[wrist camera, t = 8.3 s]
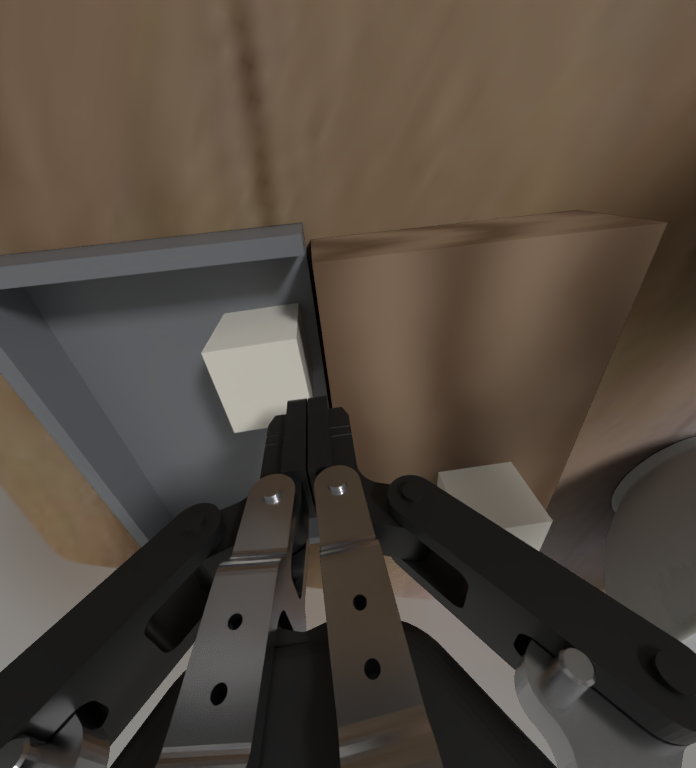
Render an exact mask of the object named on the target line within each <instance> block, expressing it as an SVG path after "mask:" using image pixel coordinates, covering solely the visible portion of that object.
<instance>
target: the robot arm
mask: <svg viewBox="0 0 696 768" xmlns="http://www.w3.org/2000/svg"><path fill="white" fill-rule="evenodd" d="M265 445H266V446H265V449H264V456H263V462H262V468H261V475H260V480H258V481H257V482H256V483H255V484H254V485H253V486H252V488H251V489H250V491H249V494H248V497H246V498H245V499H243V500H242V501H240V502H238V503H236V504H233V505H231V506H228V507H226V508H224V509H221V510H219V509H218V507H216V506H215V505H213V504H211V503H199V504H195V505H193V506H191V507H189V508H187V509H185V510H184V511H182V512H181V513H180V514H179V515H178V516H176V517H175V518H174V519H173V520H172V521H171V522H170V523H169V524H167V525H166V526H165V527H164V528H163V529H162V530H161V531H160V532H158V533H157V534H156V535H155V536H154V537H153V538H152V539H150V540H149V541H148V542H147V543H146V544H145V545H144V546H143V547H141V548H140V549H139V550H138V551H137V552H136V553H135V554H134V555H132V556H131V557H130V558H129V559H128V560H127V561H126V562H124V563H123V564H122V565H121V566H120V567H119V568H118V569H117V570H115V571H114V572H113V573H112V574H111V575H110V576H109V577H108V578H107V579H105V580H104V581H103V582H102V583H101V584H100V585H98V586H97V587H96V588H95V589H94V590H93V591H92V592H91V593H89V594H88V595H87V596H86V597H85V598H84V599H83V600H82V601H80V602H79V603H78V604H77V605H76V606H75V607H74V608H73V609H71V610H70V611H69V612H68V613H67V614H66V615H65V616H63V617H62V618H61V619H60V620H59V621H58V622H57V623H56V624H55V625H53V626H52V627H51V628H50V629H49V630H48V631H47V632H45V633H44V634H43V635H42V636H41V637H40V638H39V639H38V640H36V641H35V642H34V643H33V644H32V645H31V646H30V647H28V648H27V649H26V650H25V651H24V652H23V653H22V654H21V655H19V656H18V657H17V658H16V659H15V660H14V661H13V662H12V663H10V664H9V665H8V666H7V667H6V668H5V669H4V670H2V671H1V672H0V768H107V763H108V759H109V752H110V746H111V744H112V743H113V742H114V741H115V740H116V738H117V737H118V736H119V734H120V733H121V732H122V731H123V729H124V728H125V727H126V726H127V725H128V723H129V722H130V721H131V719H133V717H134V716H135V715H136V714H137V712H138V711H139V710H140V709H141V707H142V706H143V705H144V703H145V702H146V701H147V700H148V699H149V698H150V696H151V695H152V694H153V693H154V691H155V690H156V689H157V688H158V686H159V685H160V684H161V683H162V682H163V680H164V679H165V678H166V677H167V675H168V674H169V673H170V672H171V670H172V669H173V668H174V667H175V665H176V664H177V663H178V662H179V661H180V659H181V658H182V657H183V656H184V654H185V653H186V652H187V651H188V649H189V648H190V647H191V646H192V645H193V643H194V642H195V643H194V647H193V650H192V653H191V657H190V660H189V663H188V666H187V670H185V671H184V672H183V673H182V675H181V676H180V677H179V678H178V679H177V680H176V681H175V682H174V684H173V685H172V686H171V687H170V688H169V690H168V691H167V692H166V694H165V695H164V696H163V698H162V699H161V700H160V702H159V703H158V704H157V706H156V707H155V708H154V710H153V711H152V712H151V714H150V715H149V716H148V718H147V719H146V720H145V722H144V723H143V724H142V726H141V727H140V728H139V730H138V731H137V732H136V734H135V735H134V736H133V737H132V739H131V740H130V741H129V743H128V744H127V745H126V747H125V748H124V749H123V751H122V752H121V753H120V755H119V756H118V757H117V759H116V760H115V761H114V763H113V764H112V765H111V767H110V768H557V767H556V766H555V765H554V764H553V763H552V762H551V761H550V760H549V759H548V758H547V757H546V756H545V755H544V754H543V753H542V751H541V750H540V749H538V747H537V746H536V745H535V744H534V743H533V742H532V741H531V740H530V739H529V738H528V737H527V736H526V735H525V734H524V732H522V730H520V728H519V727H518V726H517V725H516V724H515V723H514V722H513V721H512V720H511V719H510V718H509V717H508V716H507V715H506V714H505V713H504V712H503V710H502V709H501V708H500V707H499V706H498V705H497V704H496V703H495V702H494V701H493V700H492V699H491V698H490V697H489V696H488V695H487V693H486V692H485V691H484V690H483V689H482V688H481V687H480V686H479V685H478V684H477V683H476V682H475V681H474V680H473V679H472V678H471V677H470V676H469V675H468V673H467V672H466V671H464V669H463V668H462V667H461V666H460V665H459V664H458V663H457V662H456V661H455V660H454V659H453V658H452V657H451V656H450V655H449V653H447V652H446V650H445V649H444V648H443V647H442V646H441V645H440V644H439V643H438V642H437V641H436V640H434V639H433V638H432V637H431V636H429V635H428V634H427V633H425V632H424V631H422V630H421V629H419V628H417V627H415V626H413V625H411V624H409V623H407V622H403V621H401V619H400V615H399V612H398V608H397V605H396V601H395V597H394V593H393V590H392V586H391V582H390V579H389V575H388V571H387V568H386V564H385V560H384V557H383V555H386V556H391V557H392V559H393V560H394V561H395V562H396V564H398V565H399V566H400V567H401V568H402V569H403V570H404V571H405V572H406V573H408V574H409V575H410V576H411V577H412V578H413V579H414V580H415V581H416V582H418V583H419V584H420V585H421V586H422V587H423V588H424V589H425V590H427V591H428V592H429V593H430V594H431V595H432V596H433V597H434V598H435V599H437V600H438V601H439V602H440V603H441V604H442V605H443V606H444V607H446V608H447V609H448V610H449V611H450V612H451V613H452V614H453V615H455V616H456V617H457V618H458V619H459V620H460V621H461V622H462V623H463V624H465V625H466V626H467V627H468V628H469V629H470V630H471V631H472V632H473V633H474V634H476V635H477V636H478V637H479V638H480V639H481V640H482V641H483V642H485V643H486V644H487V645H488V646H489V647H490V648H491V649H492V650H493V651H495V652H496V653H497V654H498V655H499V656H500V657H501V658H502V659H503V660H505V661H506V662H507V663H508V664H509V665H510V666H511V667H512V668H514V669H515V676H514V683H515V690H516V693H517V697H518V699H519V702H520V704H521V706H522V708H523V710H524V712H525V713H526V715H527V716H528V718H529V719H530V720H531V721H532V723H533V724H534V725H535V726H536V727H537V729H538V730H539V731H540V732H541V733H542V735H543V736H544V738H545V739H546V741H547V743H548V744H549V746H550V748H551V750H552V752H553V755H554V757H555V759H556V762H557V766H558V768H681V766H682V758H683V753H684V750H685V748H686V747H687V746H688V745H690V744H693V743H695V742H696V653H695V652H693V651H692V650H691V649H690V648H689V647H687V646H686V645H685V644H683V643H682V642H680V641H679V640H677V639H676V638H674V637H672V636H671V635H669V634H668V633H666V632H665V631H663V630H662V629H660V628H658V627H657V626H655V625H654V624H652V623H651V622H649V621H647V620H646V619H644V618H643V617H641V616H640V615H638V614H636V613H635V612H633V611H632V610H630V609H629V608H627V607H626V606H624V605H622V604H621V603H619V602H618V601H616V600H615V599H613V598H611V597H610V596H608V595H607V594H605V593H604V592H602V591H600V590H599V589H597V588H596V587H594V586H593V585H591V584H590V583H588V582H586V581H585V580H583V579H582V578H580V577H579V576H577V575H575V574H574V573H572V572H571V571H569V570H568V569H566V568H564V567H563V566H561V565H560V564H558V563H557V562H555V561H554V560H552V559H550V558H549V557H547V556H546V555H544V554H543V553H541V552H539V551H538V550H536V549H535V548H533V547H532V546H530V545H528V544H527V543H525V542H524V541H522V540H521V539H519V538H518V537H516V536H514V535H513V534H511V533H510V532H508V531H507V530H505V529H503V528H502V527H500V526H499V525H497V524H496V523H494V522H492V521H491V520H489V519H488V518H486V517H485V516H483V515H482V514H480V513H478V512H477V511H475V510H474V509H472V508H471V507H469V506H467V505H466V504H464V503H463V502H461V501H460V500H458V499H456V498H455V497H453V496H452V495H450V494H449V493H447V492H446V491H444V490H442V489H441V488H439V487H438V486H436V485H435V484H433V483H431V482H430V481H428V480H427V479H425V478H423V477H420V476H416V475H404V476H401V477H398V478H397V479H395V480H394V481H393V482H392V483H391V484H385V483H378V482H374V481H371V480H369V479H367V478H366V477H364V476H363V475H362V474H361V472H360V471H359V469H358V467H357V462H356V456H355V450H354V444H353V438H352V432H351V426H350V420H349V414H348V413H347V412H346V411H345V410H344V409H343V408H342V407H336V408H329V406H328V400H327V396H320V397H312V398H308V400H307V398H305V399H297V400H289V401H287V410H286V414H284V415H276V416H275V417H274V418H273V420H272V421H271V422H270V424H269V425H268V431H267V438H266V443H265ZM316 510H317V515H316ZM314 517H317V519H318V528H319V537H320V547H321V551H320V564H321V574H322V583H323V593H324V602H325V611H326V620H327V622H326V623H324V624H321V625H319V626H317V627H315V628H313V629H311V630H309V631H306V614H305V595H306V581H307V568H308V555H309V518H314Z"/></svg>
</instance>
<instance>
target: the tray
mask: <svg viewBox="0 0 696 768" xmlns="http://www.w3.org/2000/svg"><path fill="white" fill-rule="evenodd" d="M293 303H299V307H300V312H301V317H302V322H303V327H304V332H305V337H306V341H307V346H308V351H309V356H310V361H311V366H312V371H313V386H314V397H320V396H327V400H328V395H327V388H326V381H325V374H324V368H323V361H322V354H321V347H320V340H319V334H318V327H317V320H316V313H315V306H314V300H313V293H312V286H311V279H310V273H309V266H308V259H307V252H306V245H305V239H304V232H303V225H302V223H295V224H285V225H276V226H267V227H258V228H248V229H239V230H230V231H221V232H211V233H202V234H193V235H184V236H175V237H165V238H156V239H147V240H138V241H128V242H119V243H110V244H101V245H91V246H82V247H73V248H64V249H54V250H45V251H36V252H27V253H17V254H8V255H0V373H1V374H2V375H3V377H4V378H5V379H6V380H7V382H8V383H9V384H10V385H11V387H12V388H13V389H14V390H15V392H16V393H17V394H18V395H19V396H20V398H21V399H22V400H23V401H24V403H25V404H26V405H27V406H28V408H29V409H30V410H31V411H32V413H33V414H34V415H35V416H36V418H37V419H38V420H39V421H40V423H41V424H42V425H43V426H44V428H45V429H46V430H47V431H48V432H49V434H50V435H51V436H52V437H53V439H54V440H55V441H56V442H57V444H58V445H59V446H60V447H61V449H62V450H63V451H64V452H65V454H66V455H67V456H68V457H69V459H70V460H71V461H72V462H73V464H74V465H75V466H76V467H77V469H78V470H79V471H80V472H81V473H82V475H83V476H84V477H85V478H86V480H87V481H88V482H89V483H90V485H91V486H92V487H93V488H94V490H95V491H96V492H97V493H98V495H99V496H100V497H101V498H102V500H103V501H104V502H105V503H106V505H107V506H108V507H109V508H110V509H111V511H112V512H113V513H114V514H115V516H116V517H117V518H118V519H119V521H120V522H121V523H122V524H123V526H124V527H125V528H126V529H127V531H128V532H129V533H130V534H131V536H132V537H133V538H134V539H135V541H136V542H137V543H138V544H139V545H140V547H143V546H144V545H145V544H146V543H147V542H148V541H149V540H150V539H152V538H153V537H154V536H155V535H156V534H157V533H158V532H160V531H161V530H162V529H163V528H164V527H165V526H166V525H167V524H169V523H170V522H171V521H172V520H173V519H174V518H175V517H176V516H178V515H179V514H180V513H181V512H182V511H184V510H185V509H187V508H189V507H191V506H193V505H195V504H199V503H211V504H213V505H215V506H216V507H218V509H219V510H221V509H224V508H226V507H228V506H231V505H233V504H236V503H238V502H240V501H242V500H243V499H245V498H246V497H248V494H249V491H250V489H251V488H252V486H253V485H254V484H255V483H256V482H257V481H258V480H260V475H261V468H262V462H263V456H264V449H265V446H266V445H265V443H266V438H267V431H268V428H263V429H256V430H250V431H244V432H237V433H234V431H233V428H232V426H231V424H230V421H229V419H228V416H227V414H226V412H225V409H224V407H223V404H222V402H221V400H220V397H219V395H218V392H217V390H216V388H215V385H214V383H213V380H212V378H211V376H210V373H209V371H208V368H207V366H206V364H205V361H204V359H203V357H202V354H201V352H202V351H203V349H204V347H205V345H206V344H207V342H208V340H209V339H210V337H211V335H212V333H213V332H214V330H215V328H216V327H217V325H218V323H219V321H220V320H221V318H222V316H223V315H224V314H225V313H232V312H239V311H246V310H252V309H259V308H266V307H273V306H279V305H286V304H293ZM328 406H329V401H328ZM316 515H317V510H316ZM316 543H320V537H319V528H318V519H317V517H314V518H309V545H310V544H316Z"/></svg>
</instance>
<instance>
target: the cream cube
mask: <svg viewBox="0 0 696 768" xmlns="http://www.w3.org/2000/svg"><path fill="white" fill-rule="evenodd" d="M201 354H202V357H203V359H204V361H205V364H206V366H207V368H208V371H209V373H210V376H211V378H212V380H213V383H214V385H215V388H216V390H217V392H218V395H219V397H220V400H221V402H222V404H223V407H224V409H225V412H226V414H227V416H228V419H229V421H230V424H231V426H232V428H233V431H234V433H237V432H244V431H250V430H256V429H263V428H268V425H269V424H270V422H271V421H272V420H273V418H274V417H275V416H276V415H284V414H286V410H287V401H289V400H297V399H305V398H307V400H308V398H312V397H314V386H313V371H312V366H311V361H310V356H309V351H308V346H307V341H306V337H305V332H304V327H303V322H302V317H301V312H300V307H299V303H293V304H286V305H279V306H273V307H266V308H259V309H252V310H246V311H239V312H232V313H225V314H224V315H223V316H222V318H221V320H220V321H219V323H218V325H217V327H216V328H215V330H214V332H213V333H212V335H211V337H210V339H209V340H208V342H207V344H206V345H205V347H204V349H203V351H202V352H201Z"/></svg>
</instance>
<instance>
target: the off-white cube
mask: <svg viewBox="0 0 696 768" xmlns="http://www.w3.org/2000/svg"><path fill="white" fill-rule="evenodd" d="M437 486H438V487H439V488H441V489H442V490H444V491H446V492H447V493H449V494H450V495H452V496H453V497H455V498H456V499H458V500H460V501H461V502H463V503H464V504H466V505H467V506H469V507H471V508H472V509H474V510H475V511H477V512H478V513H480V514H482V515H483V516H485V517H486V518H488V519H489V520H491V521H492V522H494V523H496V524H497V525H499V526H500V527H502V528H503V529H505V530H507V531H508V532H510V533H511V534H513V535H514V536H516V537H518V538H519V539H521V540H522V541H524V542H525V543H527V544H528V545H530V546H532V547H533V548H535V549H536V550H538V551H540V548H541V546H542V544H543V542H544V540H545V537H546V535H547V533H548V531H549V529H550V526H551V524H552V522H553V520H552V519H551V517H550V516H549V515H548V513H547V512H546V510H545V509H544V508H543V506H542V505H541V503H540V502H539V500H538V499H537V498H536V496H535V495H534V493H533V492H532V491H531V489H530V488H529V486H528V485H527V484H526V482H525V481H524V479H523V478H522V476H521V475H520V474H519V472H518V471H517V469H516V468H515V467H514V465H513V464H512V462H505V463H498V464H491V465H484V466H477V467H470V468H463V469H456V470H449V471H443V472H438V481H437Z"/></svg>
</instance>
